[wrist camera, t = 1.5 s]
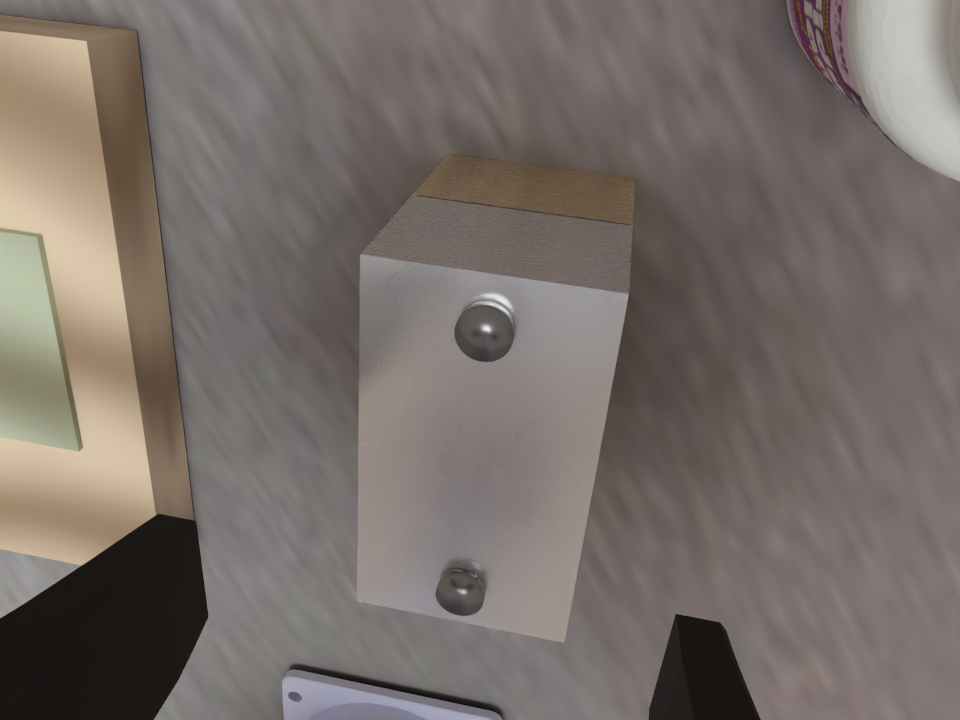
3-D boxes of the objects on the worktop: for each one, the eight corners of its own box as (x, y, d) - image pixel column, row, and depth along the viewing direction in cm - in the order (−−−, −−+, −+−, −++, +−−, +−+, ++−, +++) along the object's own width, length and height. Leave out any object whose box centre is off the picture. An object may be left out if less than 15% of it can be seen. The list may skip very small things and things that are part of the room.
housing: (587, 455, 23) (563, 653, 17) (431, 428, 23) (352, 611, 17) (635, 177, 19) (628, 301, 13) (448, 153, 20) (354, 260, 13)
